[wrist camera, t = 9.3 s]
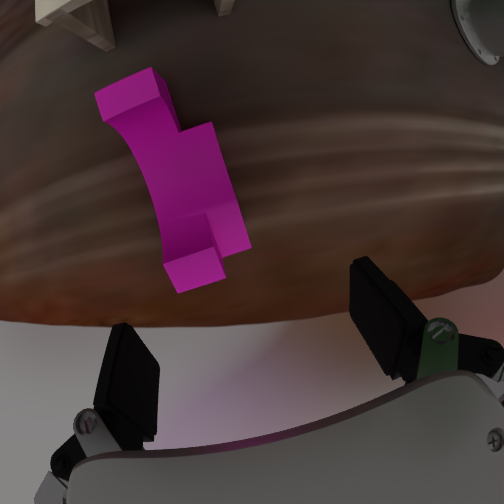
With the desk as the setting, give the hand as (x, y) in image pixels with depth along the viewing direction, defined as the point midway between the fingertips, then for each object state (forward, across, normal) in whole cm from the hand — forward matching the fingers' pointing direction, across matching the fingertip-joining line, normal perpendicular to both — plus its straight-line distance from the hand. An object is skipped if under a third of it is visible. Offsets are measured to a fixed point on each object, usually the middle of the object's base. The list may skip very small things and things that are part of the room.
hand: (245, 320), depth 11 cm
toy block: (+16, +2, -4) cm, 17 cm away
